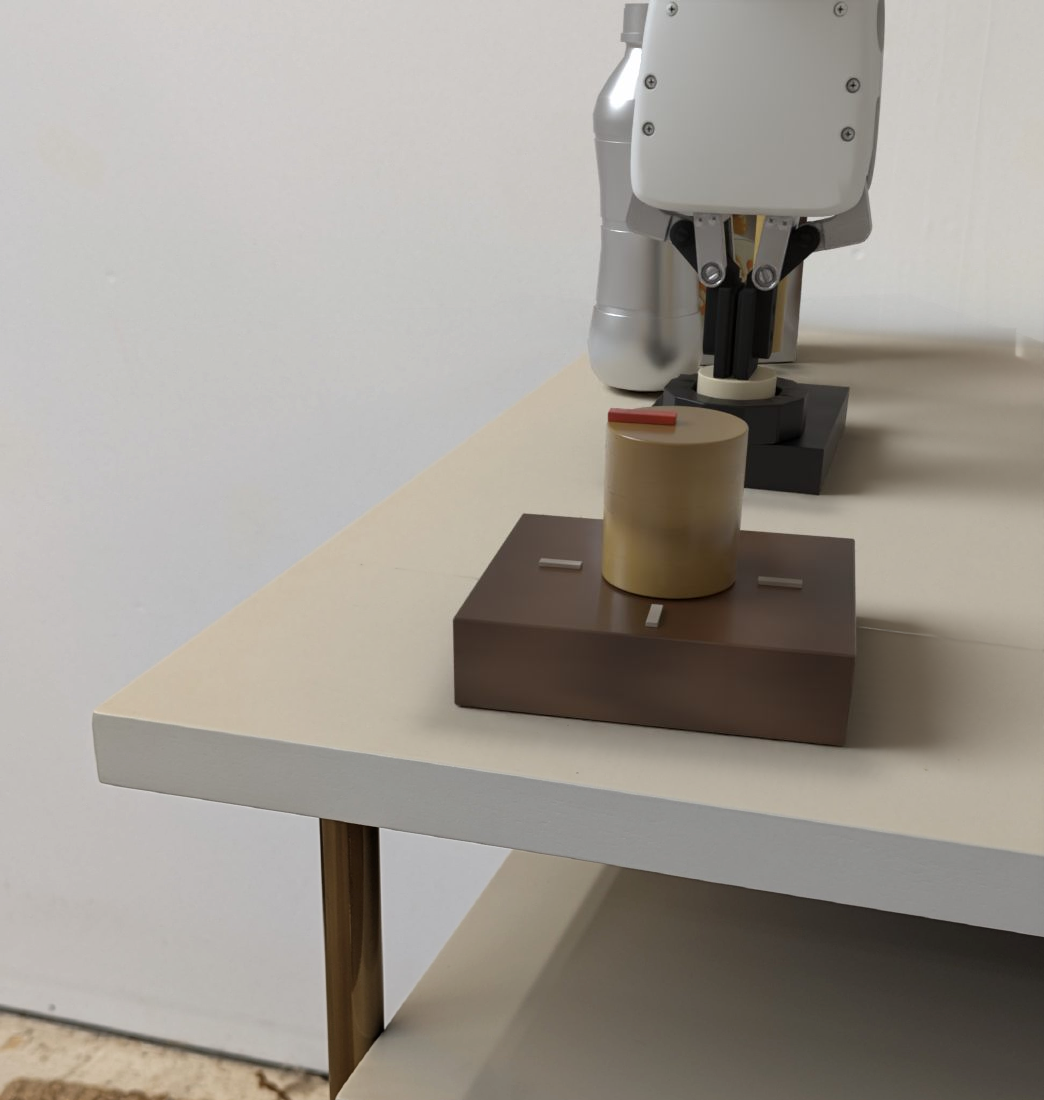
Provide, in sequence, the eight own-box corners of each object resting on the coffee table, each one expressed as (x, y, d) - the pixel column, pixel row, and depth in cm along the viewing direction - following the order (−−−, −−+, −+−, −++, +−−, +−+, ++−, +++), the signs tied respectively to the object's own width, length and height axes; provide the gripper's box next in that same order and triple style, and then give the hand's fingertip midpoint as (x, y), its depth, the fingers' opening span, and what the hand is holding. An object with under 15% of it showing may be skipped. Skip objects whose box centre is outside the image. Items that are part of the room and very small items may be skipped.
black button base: (678, 413, 73) (682, 339, 71) (845, 428, 71) (853, 352, 69) (622, 481, 62) (625, 396, 60) (817, 501, 60) (826, 413, 58)
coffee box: (765, 342, 89) (788, 78, 82) (797, 364, 84) (825, 83, 76) (631, 346, 88) (642, 79, 81) (655, 368, 82) (669, 83, 75)
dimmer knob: (740, 555, 45) (754, 400, 43) (730, 605, 41) (744, 437, 39) (612, 545, 46) (618, 392, 44) (590, 592, 42) (596, 428, 40)
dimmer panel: (845, 616, 48) (855, 533, 47) (844, 747, 39) (857, 650, 38) (522, 587, 50) (522, 508, 49) (453, 705, 42) (451, 613, 40)
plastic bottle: (688, 407, 74) (712, 2, 65) (571, 397, 76) (580, 2, 67) (711, 381, 79) (737, 4, 70) (602, 372, 81) (613, 4, 72)
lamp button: (703, 397, 64) (706, 360, 64) (778, 403, 63) (782, 366, 63) (689, 415, 61) (691, 378, 60) (767, 422, 60) (770, 384, 60)
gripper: (967, -83, 54) (907, 367, 63) (612, -78, 58) (600, 345, 67) (962, -97, 48) (896, 406, 56) (565, -90, 52) (557, 379, 60)
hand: (735, 371), depth 62 cm, fingers closed
